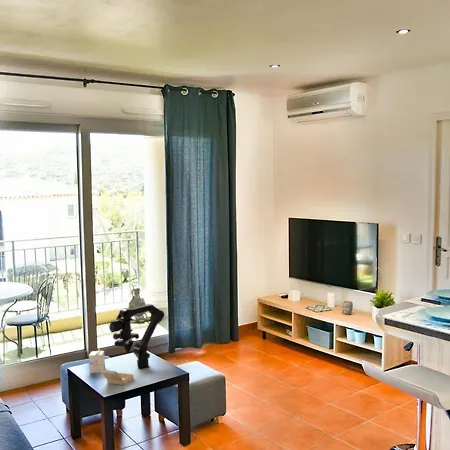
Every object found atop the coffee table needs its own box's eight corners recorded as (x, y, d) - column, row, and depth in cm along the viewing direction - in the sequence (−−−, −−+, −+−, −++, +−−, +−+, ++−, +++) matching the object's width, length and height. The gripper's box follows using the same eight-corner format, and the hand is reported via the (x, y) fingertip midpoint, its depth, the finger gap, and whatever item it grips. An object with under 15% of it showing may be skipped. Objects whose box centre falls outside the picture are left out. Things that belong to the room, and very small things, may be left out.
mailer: (117, 377, 308) (116, 372, 308) (133, 379, 303) (133, 374, 303) (107, 383, 299) (106, 378, 299) (123, 385, 294) (123, 380, 294)
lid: (99, 369, 292) (98, 370, 292) (116, 371, 287) (115, 372, 287) (106, 378, 299) (106, 379, 298) (123, 380, 294) (122, 381, 293)
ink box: (92, 368, 325) (90, 348, 324) (105, 367, 326) (104, 347, 325) (89, 373, 317) (88, 352, 316) (103, 372, 317) (101, 351, 316)
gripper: (124, 324, 326) (125, 347, 327) (106, 332, 309) (108, 356, 310) (138, 325, 322) (140, 348, 323) (121, 333, 305) (123, 358, 306)
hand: (127, 353), depth 316 cm, fingers closed
